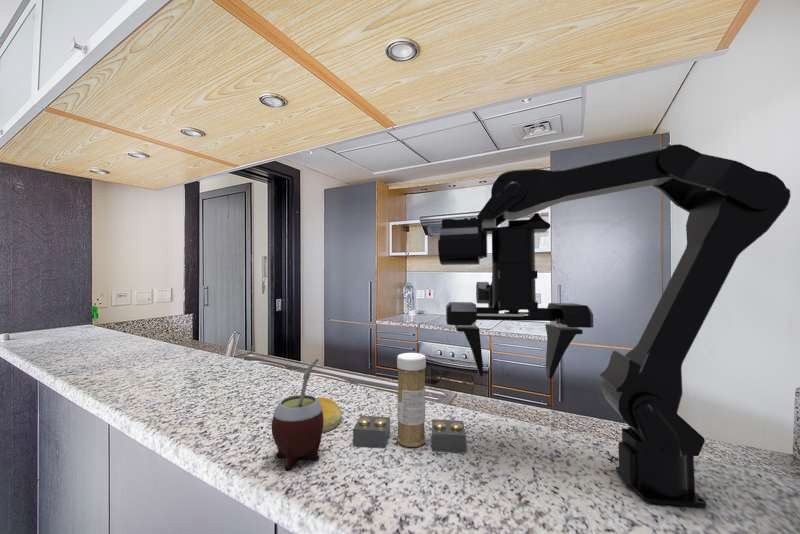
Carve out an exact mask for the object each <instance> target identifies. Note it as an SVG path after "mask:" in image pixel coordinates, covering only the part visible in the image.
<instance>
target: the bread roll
mask: <svg viewBox="0 0 800 534" xmlns="http://www.w3.org/2000/svg"><path fill="white" fill-rule="evenodd" d="M315 398H316V399H318V401H319V402H320V404H321V405H322V411H323V420H324V423H323V430H322V434H323V433H326V432H330V431H331V430H333V429H335V428H336V427H338V425H339V424H340V422H341V419H342V417H343V415H342V410H341V407H340V406H339V404H338V403H336V402H335V400H332V399H331V398H326V397H315Z"/></svg>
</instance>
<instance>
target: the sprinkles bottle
mask: <svg viewBox="0 0 800 534" xmlns="http://www.w3.org/2000/svg"><path fill="white" fill-rule="evenodd" d="M426 359H427V358H426V355H424V353H420V352H403V353H400V354H398V355H397V358H396V364H397V365H396V368H397V370H398V373H397V377H398V378H397V379H398V380H397V418H396V419H397V436H396V440H397V443H399V444H400V445H401V446H403V447H407V448H417V447H421V446H422V445H424V444H425V443H426V436H425V421H426V386H425V382H426V381H425V377H426V376H425V372H426V367H427V363H426V362H427V360H426Z"/></svg>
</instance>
